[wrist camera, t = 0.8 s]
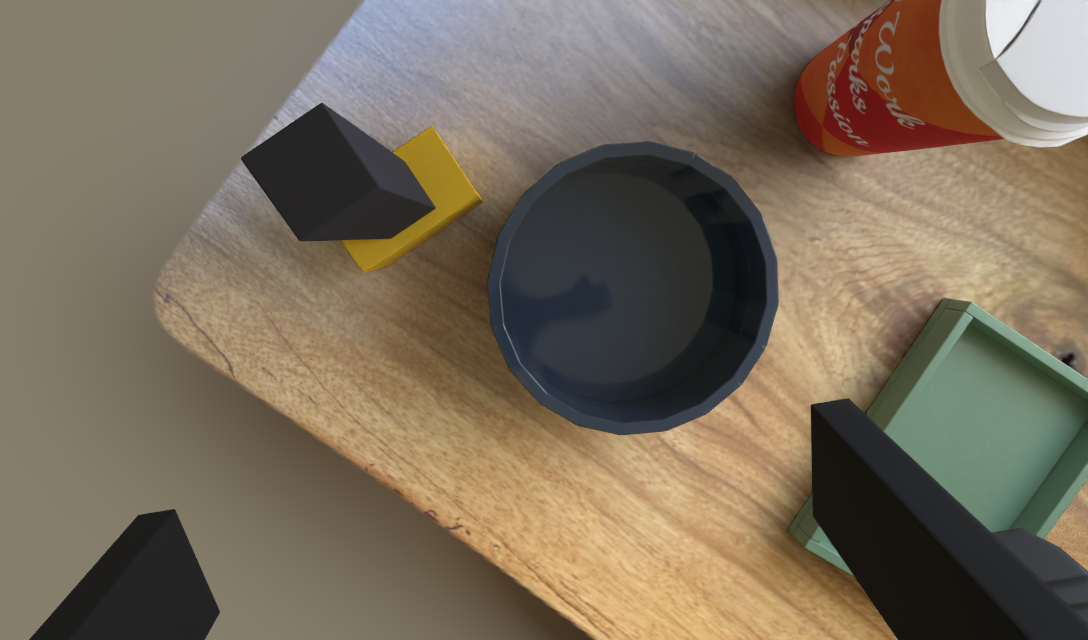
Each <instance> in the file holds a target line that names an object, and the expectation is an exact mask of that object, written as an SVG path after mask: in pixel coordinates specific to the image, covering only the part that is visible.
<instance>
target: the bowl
mask: <svg viewBox="0 0 1088 640" xmlns="http://www.w3.org/2000/svg"><path fill="white" fill-rule="evenodd" d="M487 281H488V282H487V287H488V298H489V309H490V320H491V327H492V331H493V333H494V335H495V338H496V340H497V342H498V345H499V347H500V349H501V352H502V354H503V356H504V359H505V361H506V363H507V366H508V368H509V369H510V371H511V372H512V373H513V374H514V376H515V377H516V378H517V379H518V380H519V381H520V382H521V383H522V385H523V386H524V387H525V388H526V389H527V390H528V391H529V393H530V394H531V395H532V396H533V397H534V398H535V399H536V400H537V402H539V403H540V404H541V405H543V406H544V407H546V408H548V409H550V410H551V411H553V412H555V413H556V414H558V415H560V416H562V417H563V418H565V419H567V420H568V421H570V422H572V423H574V424H575V425H578V426H581V427H585V428H590V429H594V430H599V431H603V432H608V433H613V434H617V435H630V434H641V433H652V432H662V431H667V430H670V429H672V428H675V427H677V426H679V425H682V424H684V423H687V422H689V421H691V420H694V419H696V418H699V417H701V416H703V415H706V413H708V412H710V411H711V410H712V409H713V408H714V407H716V406H717V405H718V404H719V403H720V402H722V401H723V400H724V399H725V398H726V397H728V396H729V395H730V394H731V393H732V392H734V391H735V390H736V389H737V388H739V387H740V386H741V385H742V384H743V382H744V380H745V379H746V377H747V376H748V374H749V373H750V371H751V370H752V368H753V367H754V365H755V364H756V362H757V361H758V359H759V358H760V356H761V354H762V353H763V351H764V350H765V348H766V346H767V343H768V339H769V336H770V332H771V329H772V325H773V322H774V318H775V315H776V311H777V308H778V303H779V299H778V263H777V255H776V252H775V250H774V247H773V244H772V241H771V238H770V236H769V233H768V230H767V227H766V224H765V221H764V219H763V216H762V215H761V213H760V211H759V210H758V209H757V208H756V206H755V205H754V204H753V203H752V201H751V200H750V199H749V197H748V196H747V195H746V194H745V192H744V191H743V190H742V188H741V187H740V186H739V185H738V183H737V182H736V181H735V180H734V179H733V178H732V177H731V176H729V175H728V174H726V173H725V172H723V171H722V170H720V169H719V168H717V167H716V166H714V165H713V164H711V163H710V162H708V161H707V160H705V159H704V158H702V157H701V156H699V155H697V154H695V153H693V152H689V151H685V150H681V149H678V148H674V147H670V146H666V145H662V144H658V143H655V142H649V141H646V142H632V143H619V144H605V145H601V146H598V147H596V148H593V149H591V150H589V151H586V152H584V153H581V154H579V155H577V156H574V157H572V158H569V159H567V160H565V161H562V162H560V163H559V164H557V165H556V166H555V167H553V168H552V169H551V170H550V171H549V172H548V173H546V174H545V175H544V176H543V177H542V178H541V179H540V180H538V181H537V182H536V183H535V184H534V185H533V186H531V187H530V188H529V189H528V190H527V191H526V192H524V193H523V195H522V196H521V197H520V199H519V201H518V202H517V204H516V206H515V207H514V209H513V211H512V212H511V214H510V216H509V217H508V219H507V221H506V222H505V224H504V226H503V227H502V229H501V231H500V232H499V234H498V237H497V240H496V245H495V249H494V253H493V258H492V262H491V266H490V271H489V275H488V279H487Z"/></svg>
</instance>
